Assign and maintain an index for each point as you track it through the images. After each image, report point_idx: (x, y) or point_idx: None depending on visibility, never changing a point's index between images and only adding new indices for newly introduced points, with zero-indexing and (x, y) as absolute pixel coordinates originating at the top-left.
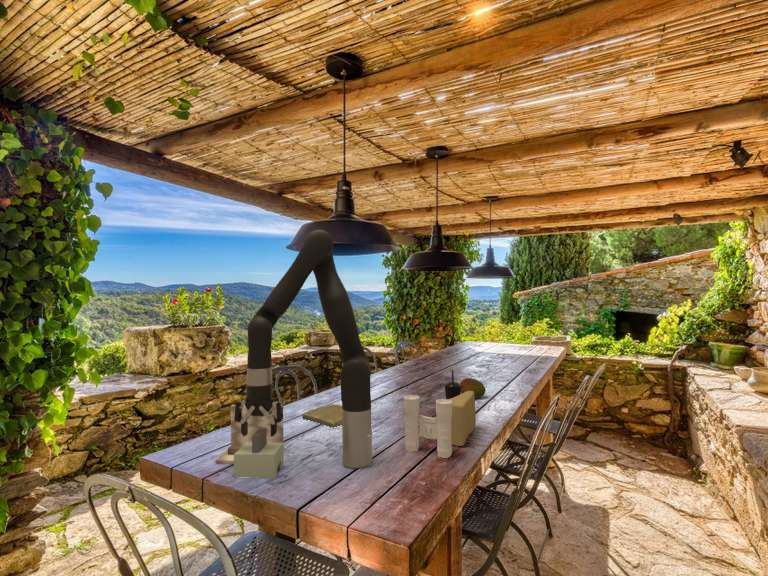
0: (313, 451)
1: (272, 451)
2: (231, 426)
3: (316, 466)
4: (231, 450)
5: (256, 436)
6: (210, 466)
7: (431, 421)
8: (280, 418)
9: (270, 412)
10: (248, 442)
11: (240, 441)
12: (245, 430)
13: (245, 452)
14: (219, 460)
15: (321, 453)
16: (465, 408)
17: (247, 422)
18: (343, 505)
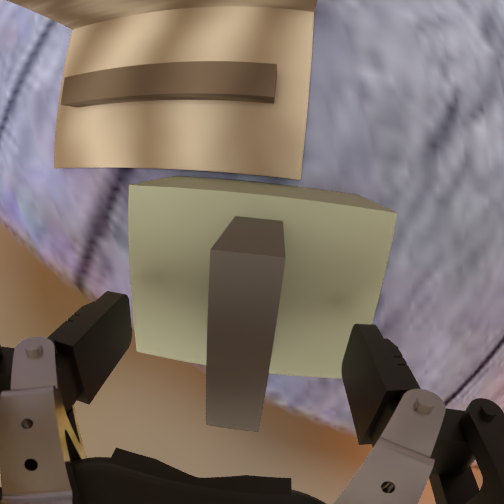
0: (457, 73)
1: (341, 346)
2: (19, 2)
3: (477, 230)
4: (79, 104)
5: (241, 427)
6: (55, 191)
7: None
8: (461, 480)
9: (385, 495)
10: (132, 6)
11: (96, 12)
12: (112, 357)
13: (185, 341)
14: (65, 167)
15: (487, 105)
16: None
17: (76, 354)
18: None
